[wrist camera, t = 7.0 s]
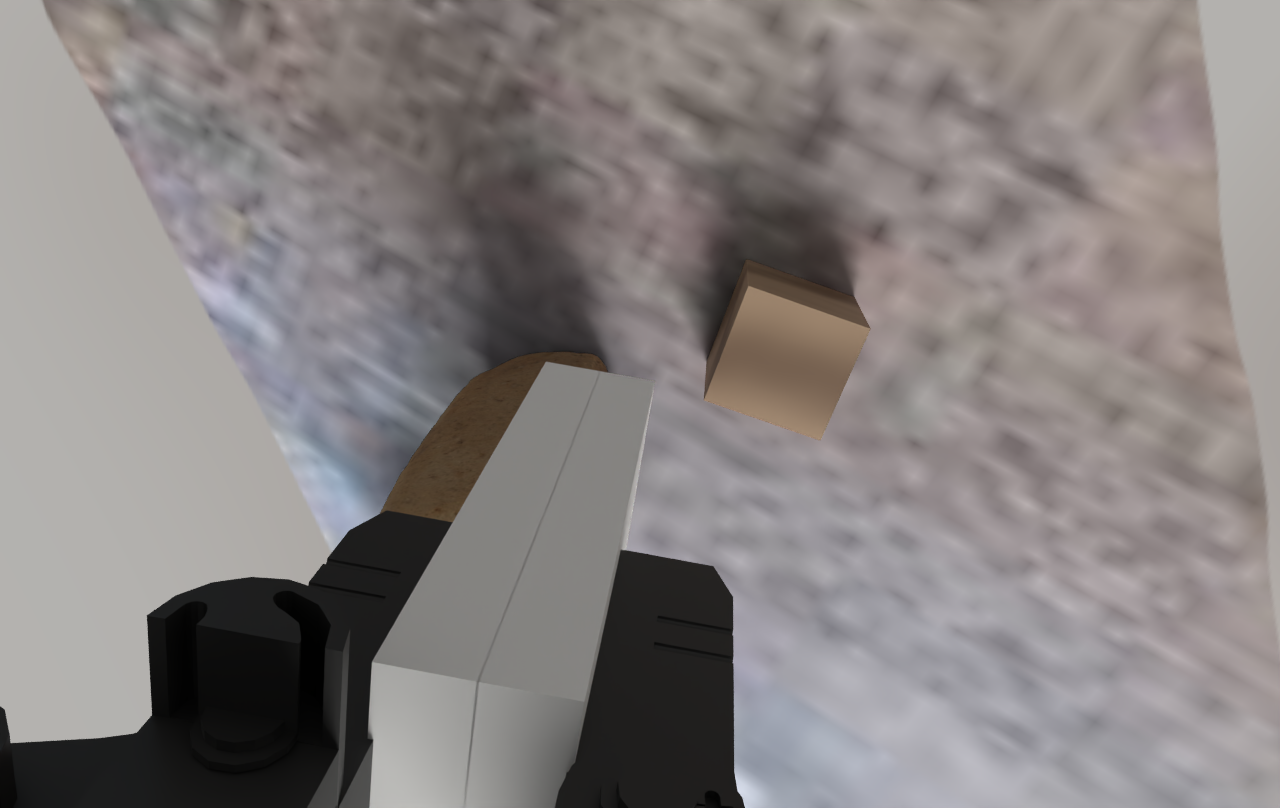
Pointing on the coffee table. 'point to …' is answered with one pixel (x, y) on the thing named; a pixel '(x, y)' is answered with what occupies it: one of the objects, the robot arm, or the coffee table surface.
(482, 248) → the coffee table surface
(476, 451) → the pitted sandstone rock
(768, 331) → the walnut block
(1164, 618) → the coffee table surface
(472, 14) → the coffee table surface
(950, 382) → the coffee table surface
